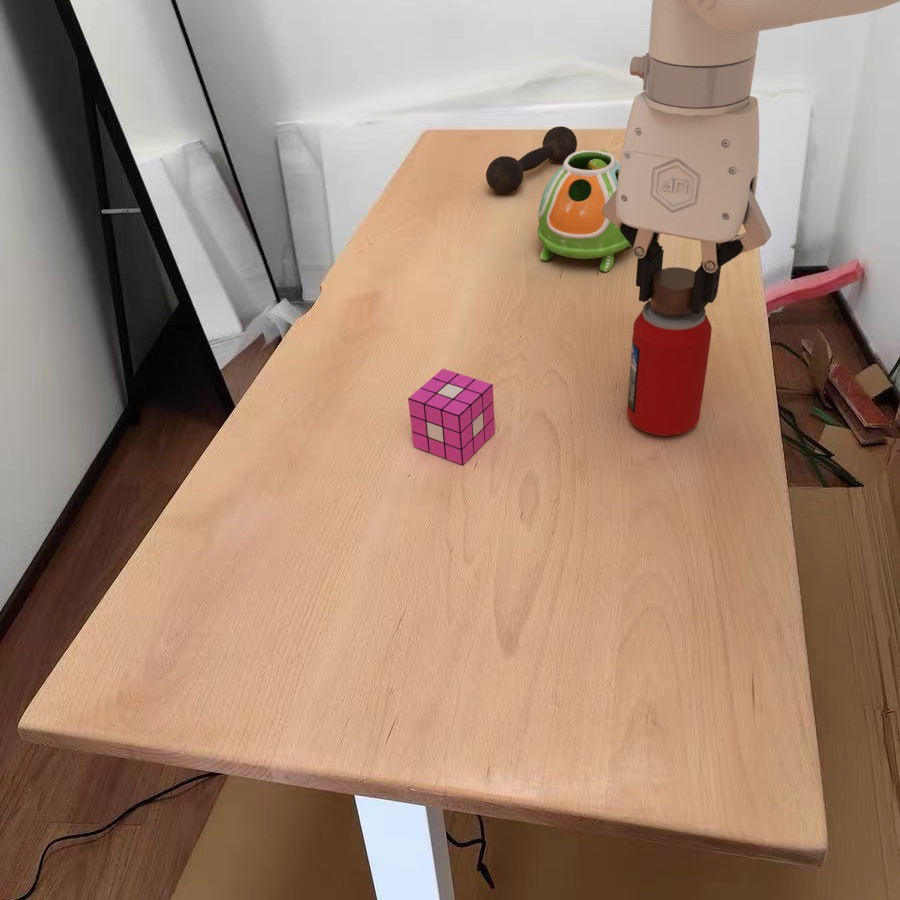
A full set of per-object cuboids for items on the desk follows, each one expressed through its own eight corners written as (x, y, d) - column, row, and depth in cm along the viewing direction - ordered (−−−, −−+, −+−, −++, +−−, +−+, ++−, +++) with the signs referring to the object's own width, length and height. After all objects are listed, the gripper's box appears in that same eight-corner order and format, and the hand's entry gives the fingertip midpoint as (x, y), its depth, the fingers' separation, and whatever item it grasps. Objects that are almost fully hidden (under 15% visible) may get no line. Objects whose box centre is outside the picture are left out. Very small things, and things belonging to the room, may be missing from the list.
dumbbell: (555, 154, 140) (553, 120, 137) (584, 158, 137) (582, 123, 134) (480, 197, 128) (476, 161, 125) (510, 201, 125) (506, 164, 122)
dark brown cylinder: (704, 298, 75) (708, 272, 74) (687, 319, 73) (691, 293, 71) (661, 289, 77) (663, 263, 75) (643, 309, 75) (645, 283, 73)
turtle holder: (650, 219, 118) (657, 130, 111) (622, 279, 105) (628, 184, 98) (562, 211, 122) (563, 125, 114) (524, 269, 109) (523, 176, 101)
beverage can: (653, 391, 86) (663, 284, 79) (712, 417, 82) (729, 307, 75) (612, 422, 83) (618, 313, 75) (672, 451, 79) (685, 338, 71)
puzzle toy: (412, 447, 82) (407, 398, 78) (446, 415, 86) (442, 367, 82) (462, 465, 79) (459, 416, 76) (495, 433, 83) (493, 383, 79)
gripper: (572, 82, 65) (567, 299, 76) (800, 108, 57) (757, 345, 68) (614, 56, 69) (604, 263, 81) (830, 76, 62) (785, 302, 73)
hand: (674, 298), depth 75 cm, fingers closed on dark brown cylinder, 4 cm apart
